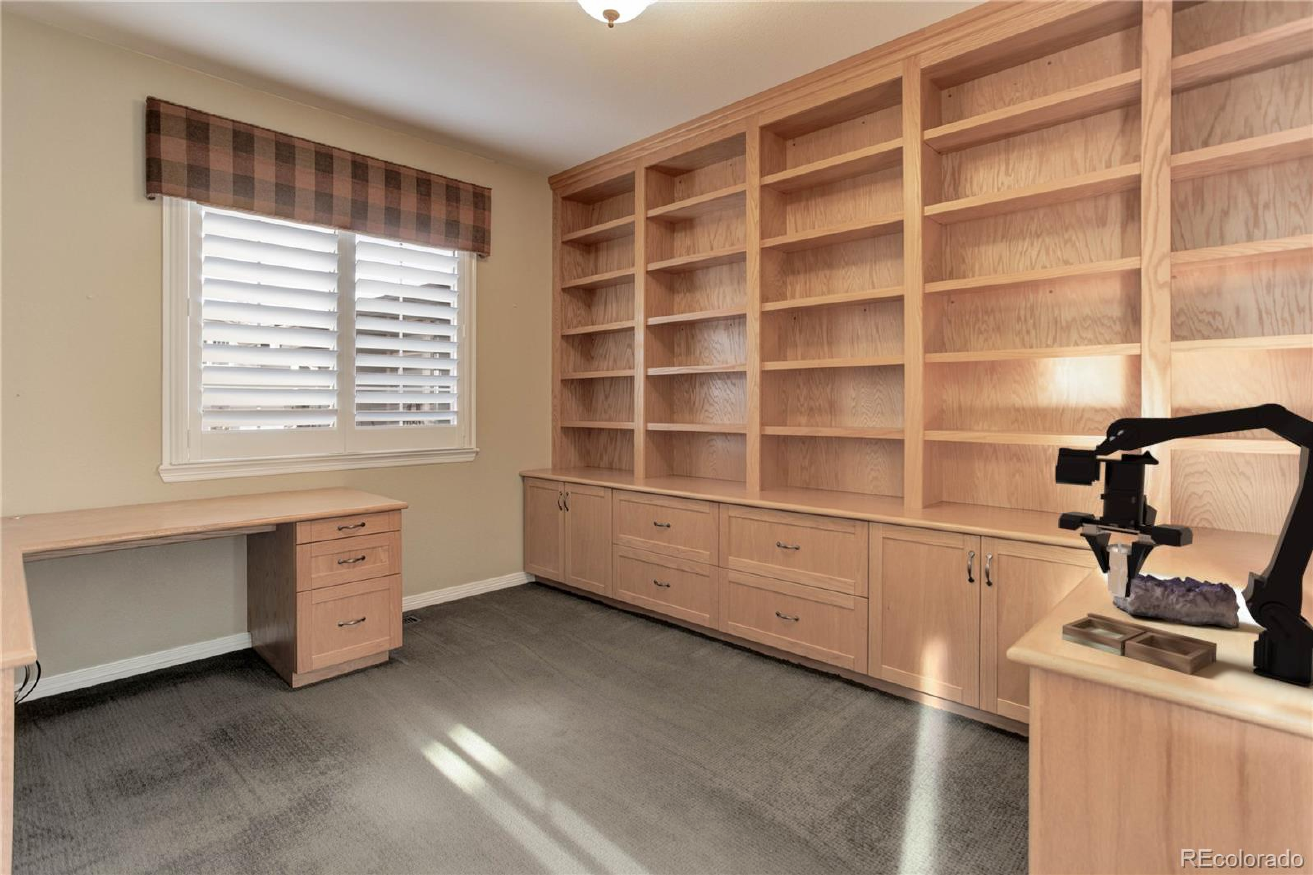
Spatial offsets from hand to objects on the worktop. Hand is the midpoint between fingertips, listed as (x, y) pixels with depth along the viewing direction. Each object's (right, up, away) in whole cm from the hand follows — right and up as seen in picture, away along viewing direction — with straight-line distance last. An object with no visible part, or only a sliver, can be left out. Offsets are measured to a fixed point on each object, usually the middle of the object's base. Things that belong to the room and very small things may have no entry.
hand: (1119, 576), depth 114 cm
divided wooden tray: (+2, -13, -1) cm, 13 cm away
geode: (+23, -12, +16) cm, 31 cm away
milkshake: (0, -4, 0) cm, 4 cm away
